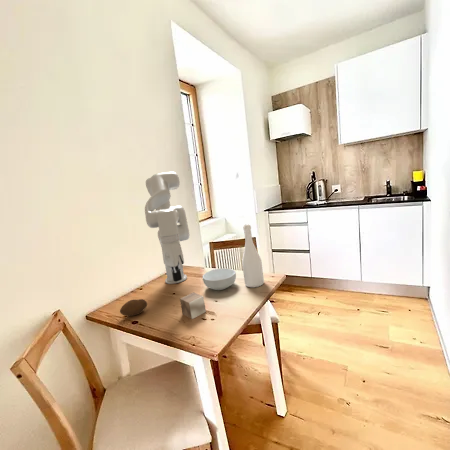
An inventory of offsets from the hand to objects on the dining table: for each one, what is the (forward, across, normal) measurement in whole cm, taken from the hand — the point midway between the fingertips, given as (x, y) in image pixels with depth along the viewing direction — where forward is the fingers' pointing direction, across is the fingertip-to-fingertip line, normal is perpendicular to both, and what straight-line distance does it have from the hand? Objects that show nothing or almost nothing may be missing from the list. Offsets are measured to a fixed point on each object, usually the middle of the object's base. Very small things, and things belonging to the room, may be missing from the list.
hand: (177, 280), depth 111 cm
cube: (+10, +5, 0) cm, 11 cm away
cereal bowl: (+13, -2, +24) cm, 28 cm away
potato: (+13, -14, -16) cm, 25 cm away
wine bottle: (+13, +11, +35) cm, 39 cm away
